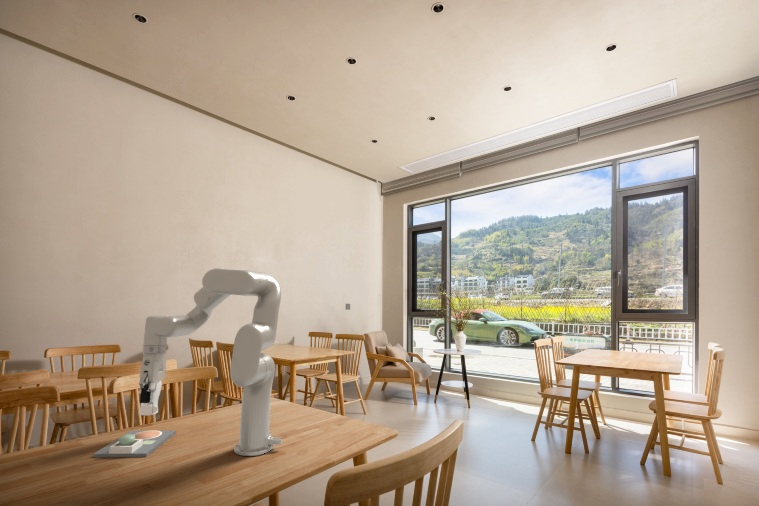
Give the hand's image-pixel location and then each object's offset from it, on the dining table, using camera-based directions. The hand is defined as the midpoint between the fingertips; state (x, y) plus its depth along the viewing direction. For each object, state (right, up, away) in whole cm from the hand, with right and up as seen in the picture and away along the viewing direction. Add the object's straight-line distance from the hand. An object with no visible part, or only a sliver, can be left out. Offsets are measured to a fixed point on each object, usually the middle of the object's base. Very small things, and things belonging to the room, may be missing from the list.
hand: (149, 399), depth 142 cm
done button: (+1, -9, -15) cm, 17 cm away
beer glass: (0, -5, -1) cm, 5 cm away
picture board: (0, -12, -8) cm, 15 cm away
